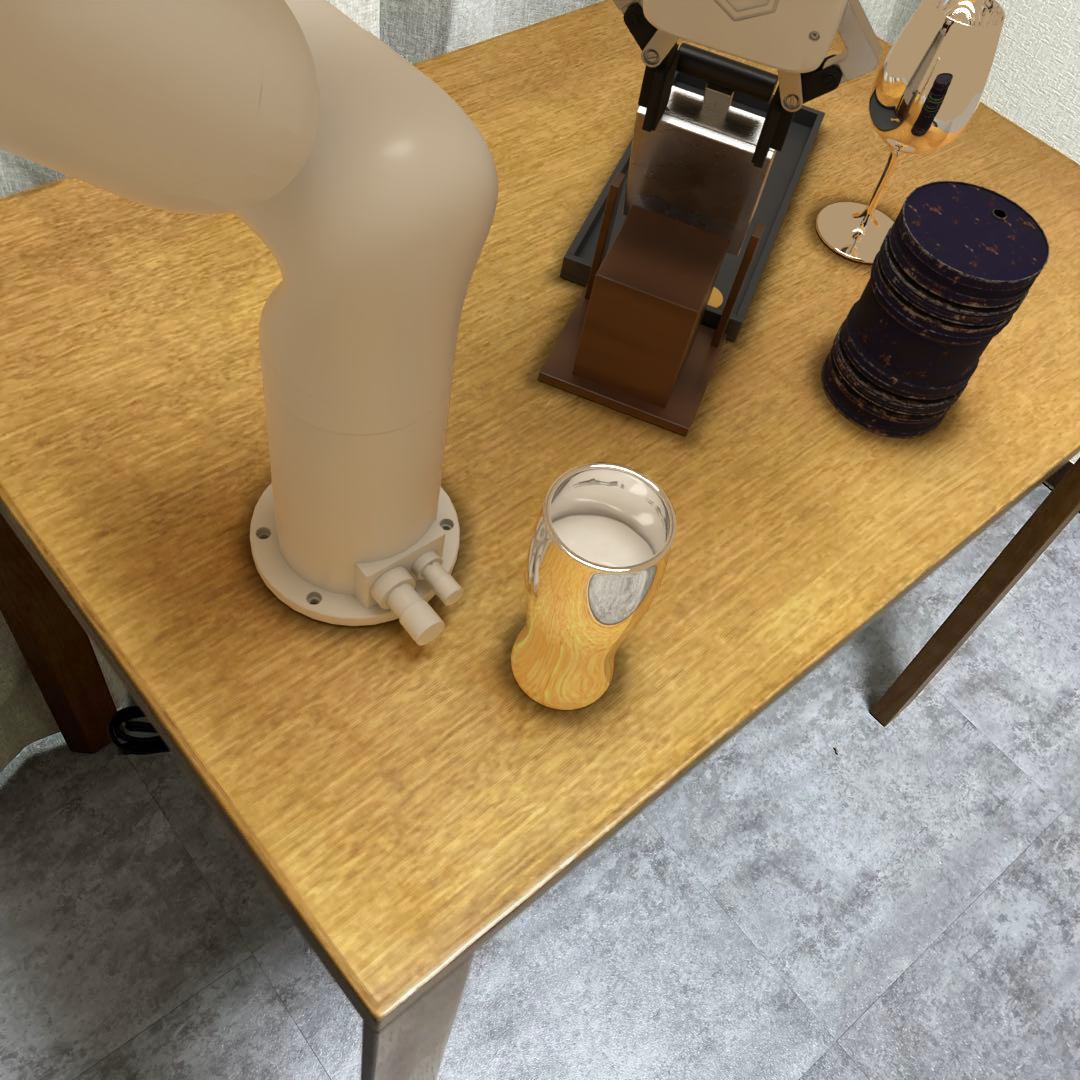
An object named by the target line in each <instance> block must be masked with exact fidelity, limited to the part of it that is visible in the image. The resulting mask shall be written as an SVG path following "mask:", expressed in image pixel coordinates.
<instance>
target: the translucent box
mask: <svg viewBox="0 0 1080 1080" xmlns="http://www.w3.org/2000/svg"><path fill="white" fill-rule="evenodd" d="M678 50H680V56H679V60H678V64H677V68H676V72H679V73H682V74H685V75H687V76H690V77H693V78H696V79H699V80H702V81H705V82H708V84H707V86H706V89H705V93H704V96H701V95H698V94H695V93H693V92H690V91H687V90H684V89H681V88H678V87H675V86H673V85H672V89H671V93H670V98H669V102H668V105H667V108H666V110H665V112H664V114H663V116H662V118H661V119H660V121H659V123H658V125H657V127H656V129H655V131H653V130H652V131H651V132H648V131H645V130H642V127H643V122H644V118H645V113H646V109H647V108H644V107H641V106H637V110H636V114H635V119H634V127H633V133H632V138H633V142H632V149H631V156H630V164H629V171H628V179H627V186H626V194H625V201H624V208H623V215H626V216H628V214H629V212H630V210H631V208H632V207H633V205H636V206H639V207H642V208H645V209H648V210H650V211H653V212H656V213H659V214H661V215H664V216H667V217H670V218H672V219H675V220H678V221H681V222H683V223H686V224H689V225H692V226H694V227H697V228H700V229H703V230H705V231H708V232H711V233H714V234H716V235H719V236H722V237H725V238H727V239H730V243H729V246H728V248H727V251H726V252H727V253H730V254H733V255H736V256H738V255H739V252H740V250H741V247H742V244H743V241H744V238H745V236H746V233H747V230H748V227H749V225H750V222H751V220H752V218H753V215H754V213H755V210H756V208H757V205H758V202H759V199H760V196H761V194H762V191H763V188H764V185H765V182H766V179H767V176H768V173H769V171H770V168H771V165H772V162H773V159H774V156H775V153H776V150H774V149H771V148H770V149H769V152H768V154H767V157H766V159H765V162H764V164H763V167H762V169H761V168H758V167H755V166H754V163H751V161H752V158H753V154H754V151H755V148H756V145H757V142H758V139H759V136H760V133H761V130H762V127H763V124H764V121H765V118H764V117H761V116H758V115H755V114H753V113H750V112H747V111H744V110H741V109H738V108H735V107H733V106H730V105H731V102H732V98H733V94H734V92H736V93H739V94H742V95H745V96H748V97H751V98H753V99H756V100H759V101H762V102H765V103H770V101H771V98H772V96H773V95H774V94H775V92H776V89H777V86H778V83H779V79H778V74H776V73H773V72H770V71H767V70H764V69H762V68H759V67H756V66H753V65H750V64H747V63H745V62H741V61H738V60H735V59H733V58H730V57H727V56H725V55H721V54H718V53H715V52H713V51H709V50H706V49H705V48H701V47H698V46H696V45H692V44H689V43H686V42H681V44H679V46H678Z"/></svg>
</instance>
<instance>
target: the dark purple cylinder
mask: <svg viewBox="0 0 1080 1080" xmlns="http://www.w3.org/2000/svg"><path fill="white" fill-rule="evenodd" d="M893 222H894V224H893V225H892V226H891V228H890V229H889V231H888V233H887V235H886V237H885V239H884V241H883V243H882V245H881V247H880V250H879V252H878V253H877V254H876V256H875V259H874V261H873V263H872V266H871V268H870V275H869V276H870V277H869V279H868V281H867V283H866V285H865V287H864V289H863V291H862V293H861V295H860V297H859V299H858V300H856V301H855V302H854V304H853V305H852V306H851V308H850V309H849V311H848V313H847V315H846V317H845V319H844V320H843V321H842V323H841V324H840V326H839V329H838V330H837V332H836V334H835V336H834V338H833V341H832V345H831V348H830V350H829V353H828V354H827V356H826V357H825V359H824V361H823V364H822V367H821V373H820V375H821V376H820V377H821V379H820V380H821V384H822V388H823V390H824V392H825V395H826V397H827V398H828V400H829V401H830V403H831V404H832V405H833V407H834V408H835V409H836V410H837V411H838V412H839V413H840V414H841V415H842V416H843V417H844V418H846V419H847V420H848V421H850V422H851V423H853V424H854V425H856V426H857V427H859V428H861V429H863V430H866V431H868V432H870V433H873V434H876V435H879V436H883V437H887V438H891V439H892V438H893V439H914V438H917V437H922V436H925V435H927V434H929V433H931V432H932V431H934V430H935V429H936V428H938V426H940V424H941V423H942V422H943V420H944V419H945V416H946V415H947V413H948V412H949V410H950V409H951V408H952V407H953V405H954V404H956V402H957V401H958V400H959V398H960V397H961V396H962V395H963V393H964V391H965V389H967V386H968V384H969V381H970V379H971V378H972V377H973V375H974V374H975V371H976V370H977V368H978V366H979V363H980V358H981V356H983V354H984V352H985V350H986V349H987V348H988V346H989V344H990V343H991V342H992V340H993V338H995V337H996V336H998V335H999V334H1000V333H1001V332H1002V331H1003V330H1004V329H1005V328H1006V327H1007V326H1008V325H1009V323H1010V322H1011V321H1012V319H1013V316H1014V314H1015V313H1017V311H1018V310H1019V308H1020V307H1021V305H1022V304H1023V302H1024V301H1025V299H1026V298H1027V297H1028V294H1029V292H1030V289H1031V288H1032V286H1033V285H1034V283H1035V282H1036V279H1037V278H1038V277H1039V276H1040V274H1041V273H1042V272H1043V270H1044V268H1045V267H1046V265H1047V263H1048V261H1049V258H1050V244H1049V240H1048V237H1047V235H1046V233H1045V231H1044V230H1043V228H1042V226H1041V225H1040V223H1038V221H1037V220H1036V219H1035V218H1034V216H1032V215H1031V213H1029V212H1028V211H1027V210H1026V209H1025V208H1024V207H1022V206H1021V205H1020V204H1018V203H1017V202H1016V201H1014V200H1013V199H1010V198H1009V197H1007V196H1005V195H1003V194H1001V193H999V192H997V191H995V190H993V189H990V188H988V187H985V186H982V185H979V184H975V183H970V182H966V181H957V180H938V181H931V182H928V183H924V184H922V185H920V186H918V187H915V188H914V189H913V190H912V191H910V192H909V194H908V195H907V196H906V198H905V200H904V202H903V204H902V205H901V208H900V210H899V213H898V214H897V216H896V218H895V219H894V221H893Z"/></svg>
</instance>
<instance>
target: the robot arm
mask: <svg viewBox="0 0 1080 1080" xmlns="http://www.w3.org/2000/svg"><path fill="white" fill-rule="evenodd" d="M612 2H613V3H614V5H615V7H616V8H617V9H618V11H620V12H621V14H622V15H623V23H624V25H625V26H626V28H627V29H628V31H629V32H630V34H631V36H632V37H633V39H634V40H635V42H636V44H637V45H638V47H639V49H640V50H641V53H640V57H641V59H640V60H641V61H642V63H643V65H645V68H644V73H643V78H642V82H641V86H640V87H641V88H640V91H639V96H638V102H637V107H639V106H641V107H644V108H647V109H646V113H645V118H644V122H643V127H642V130H645V131H648V132H651V131H652V130H653V131H655V129H656V127H657V125H658V123H659V121H660V119H661V118H662V116H663V114H664V112H665V110H666V108H667V105H668V102H669V98H670V93H671V89H672V85H673V81H674V77H675V72H676V68H677V64H678V60H679V56H680V50H679V47H680V44H679V43H678V41H679V40H683V41H686V42H688V43H691V44H694V45H698V46H701V47H704V48H707V49H710V50H713V51H716V52H720V53H722V54H726V55H729V56H733V57H735V58H739V59H742V60H745V61H749V62H751V63H755V64H757V65H760V66H764V67H768V68H771V69H775V70H777V75H778V83H777V86H776V88H775V91H774V93H773V95H774V96H773V99H772V101H771V104H770V106H769V109H768V111H767V114H766V117H765V121H764V124H763V127H762V130H761V133H760V136H759V139H758V142H757V145H756V148H755V151H754V154H753V158H752V161H751V163H754V166H755V167H758V168H761V169H762V167H763V164H764V162H765V159H766V157H767V154H768V152H769V149H770V148H771V149H774V150H777V151H780V152H781V150H782V147H783V145H784V142H785V139H786V137H787V134H788V131H789V128H790V125H791V122H792V119H793V117H794V114H795V112H796V111H798V110H799V109H800V108H801V107H802V105H804V104H806V103H808V102H811V101H812V100H815V99H817V98H820V97H822V96H824V95H826V94H828V93H830V92H832V91H835V90H836V89H838V87H839V86H840V85H841V84H844V83H849V82H851V81H853V80H856V79H858V78H859V77H863V76H865V75H867V74H869V73H872V72H874V71H875V70H876V69H877V68H878V66H879V63H880V61H881V57H882V55H883V47H882V45H881V43H880V41H879V39H878V37H877V34H876V33H875V31H874V29H873V26H872V24H871V23H870V20H869V18H868V16H867V14H866V12H865V10H864V8H863V6H862V4H861V2H860V0H612ZM837 33H838V35H839V37H840V39H841V41H842V43H843V45H844V47H845V49H844V50H842V51H841V52H840V53H838V54H830V55H828V53H829V52H830V49H831V47H832V44H833V42H834V40H835V38H836V36H837ZM827 55H828V56H827ZM0 151H2V152H5V153H8V154H10V155H13V156H16V157H18V158H20V159H21V158H22V160H26V161H29V162H31V163H34V164H36V165H39V166H42V167H45V168H47V169H49V170H52V171H55V172H57V173H60V174H63V175H65V176H67V177H71V178H72V179H75V180H78V181H81V182H82V183H86V184H88V185H90V186H93V187H95V188H98V189H100V190H101V191H104V192H107V193H110V194H112V195H114V196H117V197H119V198H122V199H125V200H126V201H129V202H131V203H134V204H137V205H140V206H144V207H146V208H147V207H148V208H152V209H156V210H160V211H164V212H165V211H166V212H169V213H170V212H171V213H174V214H181V215H182V214H183V215H203V216H205V215H206V216H213V215H214V216H215V215H223V214H230V213H232V214H234V216H236V217H237V218H238V219H239V220H240V221H241V222H242V223H243V224H244V225H245V226H247V227H248V228H249V229H250V230H251V231H252V232H253V233H254V234H255V235H256V236H257V237H258V238H259V240H261V242H262V243H263V244H264V245H265V246H266V248H267V249H268V250H269V252H270V253H271V255H272V256H273V257H274V259H275V261H276V263H277V265H278V267H279V269H280V274H281V277H282V280H281V282H279V283H278V284H277V285H276V286H275V287H274V288H273V290H272V291H271V292H270V293H269V295H268V297H267V298H266V300H265V302H264V304H263V306H262V310H261V314H260V319H259V326H258V349H259V359H260V370H261V371H260V372H261V376H262V387H263V399H264V409H265V420H266V432H267V444H268V451H269V452H268V454H269V455H268V456H269V465H270V477H271V482H270V484H269V485H268V486H267V487H266V488H265V489H264V491H263V492H262V494H261V495H260V497H259V499H258V500H257V503H256V504H255V506H254V510H253V512H252V516H251V520H250V527H249V542H250V550H251V556H252V559H253V562H254V565H255V568H256V571H257V573H258V575H259V576H260V578H261V580H262V581H263V583H264V584H265V586H266V588H268V589H269V590H270V591H271V592H272V593H273V595H274V596H275V597H276V598H277V599H278V600H280V601H281V602H282V603H284V604H285V605H286V606H287V607H289V608H291V609H292V610H294V611H295V612H298V613H300V614H302V615H304V616H306V617H308V618H310V619H312V620H316V621H319V622H323V623H327V624H331V625H338V626H349V627H360V626H375V625H379V624H384V623H387V622H388V623H389V622H391V621H395V620H399V624H400V625H401V626H402V627H403V629H404V630H405V632H406V633H408V635H409V636H410V637H411V639H413V641H414V642H415V643H416V645H418V646H420V647H421V646H426V645H428V644H429V643H431V642H433V641H434V640H436V639H437V638H438V637H439V636H440V635H441V633H442V632H443V631H444V629H445V627H446V625H445V621H443V619H442V618H441V616H440V615H438V613H437V612H436V611H435V610H434V609H433V607H432V606H431V604H430V603H429V602H430V601H431V600H432V599H433V598H434V597H435V596H437V598H438V599H439V600H440V601H441V603H443V605H444V606H445V607H450V606H452V605H454V604H455V603H457V602H458V601H459V600H460V599H461V598H462V597H463V595H464V593H465V592H464V589H463V587H462V586H461V585H460V584H459V583H458V582H457V580H456V579H455V578H454V576H452V573H453V571H454V567H455V565H456V563H457V561H458V554H459V549H460V539H461V536H460V535H461V533H460V532H461V527H460V522H459V517H458V512H457V511H456V508H455V505H454V504H453V502H452V499H451V498H450V496H449V495H448V493H447V492H446V490H445V489H444V488H443V487H442V485H441V484H442V476H443V467H444V466H443V465H444V459H445V458H444V457H445V450H446V441H447V432H448V424H449V423H448V422H449V414H450V405H451V397H452V388H453V378H454V372H455V371H454V368H455V358H456V352H457V351H456V349H457V342H458V336H459V329H460V323H461V319H462V313H463V308H464V305H465V304H464V303H465V300H466V297H467V294H468V290H469V286H470V284H471V280H472V278H473V275H474V272H475V269H476V268H477V264H478V262H479V259H480V256H481V254H482V252H483V249H484V247H485V244H486V241H487V239H488V236H489V234H490V232H491V228H492V225H493V221H494V218H495V215H496V211H497V205H498V202H499V201H498V200H499V177H498V171H497V167H496V163H495V160H494V157H493V154H492V151H491V149H490V147H489V145H488V143H487V141H486V139H485V137H484V136H483V134H482V133H481V131H480V129H479V128H478V126H477V124H476V123H474V121H473V120H472V118H471V117H470V116H469V115H468V114H467V112H466V111H465V110H464V109H463V107H462V106H460V104H458V103H457V102H456V100H455V99H453V98H452V96H451V95H450V94H448V92H447V91H445V90H444V89H443V88H442V87H440V86H439V85H438V84H437V83H436V82H435V81H434V80H432V79H431V78H430V77H429V76H428V75H427V74H426V73H424V72H422V71H421V70H420V69H418V68H417V67H416V66H415V65H414V64H412V63H411V62H409V61H408V60H407V59H405V58H404V57H403V56H402V55H400V54H399V53H398V52H396V51H395V50H394V49H392V48H391V47H390V46H389V45H388V44H386V43H385V42H384V41H382V40H381V39H380V38H378V36H376V35H375V34H373V33H372V32H371V31H369V30H367V29H365V28H363V27H362V26H361V25H359V24H358V23H357V22H355V21H354V20H353V19H352V18H351V17H349V16H348V15H347V14H345V13H344V12H342V11H341V10H340V9H338V8H337V7H336V6H335V5H334V4H332V3H331V2H330V1H328V0H0Z"/></svg>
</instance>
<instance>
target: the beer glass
mask: <svg viewBox="0 0 1080 1080" xmlns="http://www.w3.org/2000/svg"><path fill="white" fill-rule="evenodd" d="M677 530H678V521H677V514H676V511H675V508H674V504H673V503H672V501H671V499H670V498H669V496H668V494H667V493H666V492H665V491H664V490H663V488H662V487H661V486H660V485H659V484H658V483H656V482H655V480H653V479H652V478H651V477H650V476H648V475H646V474H644V473H643V472H640V471H638V470H637V469H635V468H632V467H630V466H627V465H623V464H619V463H614V462H604V461H602V462H600V461H599V462H596V461H595V462H589V463H584V464H580V465H577V466H574V467H572V468H570V469H567V470H566V471H564V472H562V473H561V474H560V475H559V476H558V477H556V479H554V481H553V482H552V483H551V484H550V486H549V488H548V489H547V491H546V494H545V496H544V499H543V504H542V507H541V509H540V512H539V514H538V517H537V518H536V522H535V525H534V528H533V529H532V534H531V537H530V540H529V544H528V548H527V554H526V558H525V559H526V560H525V564H524V565H525V566H524V598H525V599H524V601H525V612H526V620H525V621H526V622H525V625H523V628H522V629H521V630H520V632H519V634H518V635H517V637H516V639H515V641H514V642H513V646H512V649H511V654H510V664H511V671H512V674H513V677H514V680H515V681H516V683H517V685H518V686H519V688H520V689H521V690H522V691H523V692H524V694H526V696H528V697H529V698H530V699H531V700H533V701H535V702H536V703H538V704H539V705H542V706H544V707H547V708H549V709H554V710H558V711H559V710H560V711H572V710H573V711H574V710H580V709H582V708H586V707H588V706H590V705H591V704H593V703H595V702H597V700H599V699H600V698H601V697H602V696H603V695H604V694H605V693H606V691H607V690H608V688H609V687H610V684H611V683H612V682H611V681H612V679H613V675H614V670H615V653H616V652H617V650H618V649H619V647H620V646H621V645H622V644H623V643H624V641H625V640H626V639H627V638H628V637H629V635H630V634H631V633H632V632H633V631H634V630H635V629H636V627H637V626H638V625H639V624H640V622H641V620H642V619H643V618H644V616H645V615H646V614H647V612H648V611H649V609H650V607H651V605H652V604H653V602H654V599H655V598H656V596H657V593H658V591H659V589H660V587H661V583H662V581H663V578H664V575H665V573H666V570H667V566H668V562H669V560H670V559H669V558H670V555H671V552H672V547H673V545H674V543H675V540H676V535H677Z"/></svg>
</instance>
